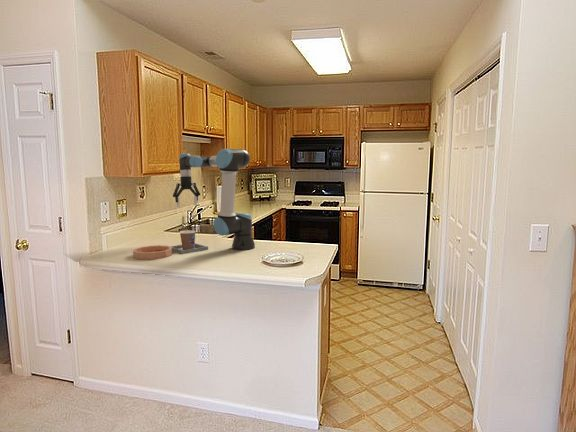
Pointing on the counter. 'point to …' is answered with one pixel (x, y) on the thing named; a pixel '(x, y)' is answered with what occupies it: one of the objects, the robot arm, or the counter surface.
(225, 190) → the robot arm
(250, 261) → the counter surface
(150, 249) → the terracotta bowl
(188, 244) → the coffee cup
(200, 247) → the tray
